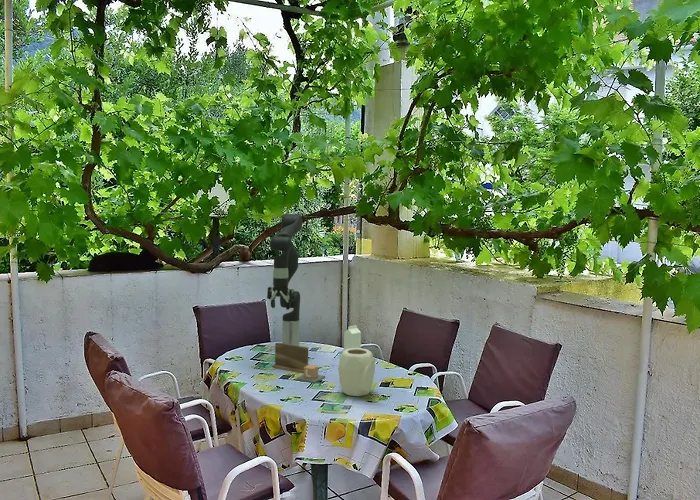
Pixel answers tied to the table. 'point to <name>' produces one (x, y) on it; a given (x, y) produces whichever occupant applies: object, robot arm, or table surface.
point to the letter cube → (310, 372)
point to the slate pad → (310, 379)
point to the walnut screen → (290, 357)
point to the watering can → (356, 371)
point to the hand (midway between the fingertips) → (280, 308)
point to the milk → (352, 337)
